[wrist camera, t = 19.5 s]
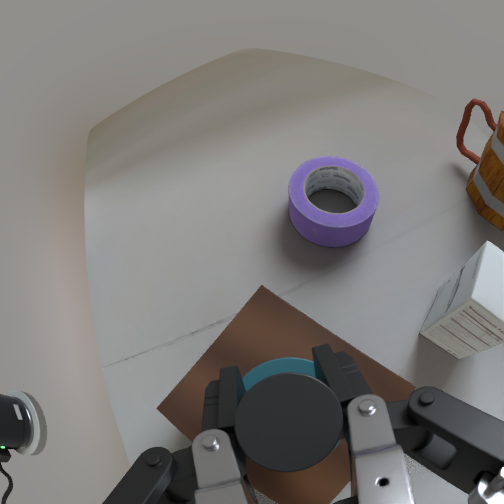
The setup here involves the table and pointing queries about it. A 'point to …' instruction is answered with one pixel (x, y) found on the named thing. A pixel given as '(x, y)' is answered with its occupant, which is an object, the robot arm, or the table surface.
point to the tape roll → (325, 223)
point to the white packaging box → (470, 306)
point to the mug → (486, 167)
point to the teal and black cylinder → (287, 416)
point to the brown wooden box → (260, 351)
